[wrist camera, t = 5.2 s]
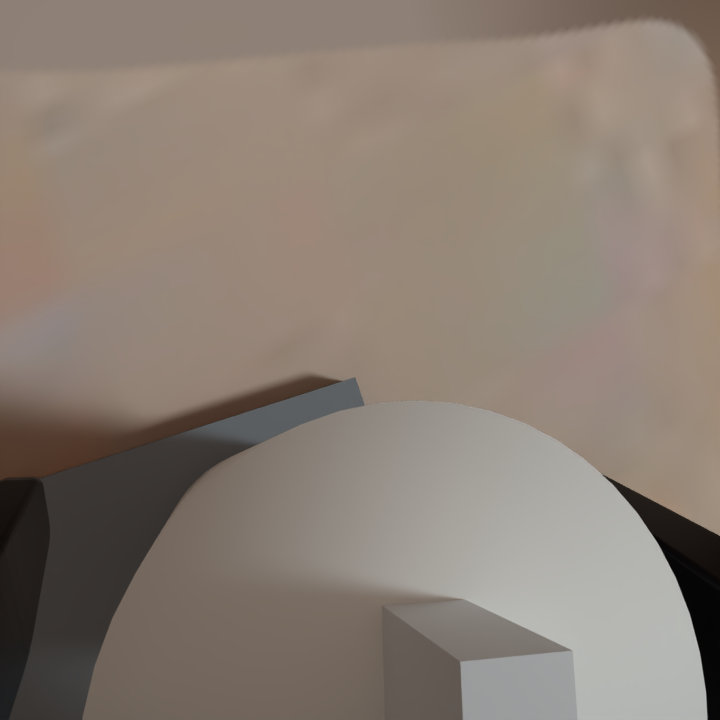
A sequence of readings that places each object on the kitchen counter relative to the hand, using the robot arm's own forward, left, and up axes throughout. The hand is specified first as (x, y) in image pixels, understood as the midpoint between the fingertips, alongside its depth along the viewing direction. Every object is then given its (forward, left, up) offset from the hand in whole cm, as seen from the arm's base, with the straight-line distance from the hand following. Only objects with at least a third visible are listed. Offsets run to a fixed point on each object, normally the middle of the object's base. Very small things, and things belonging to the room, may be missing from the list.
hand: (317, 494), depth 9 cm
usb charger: (-1, 0, -6) cm, 6 cm away
